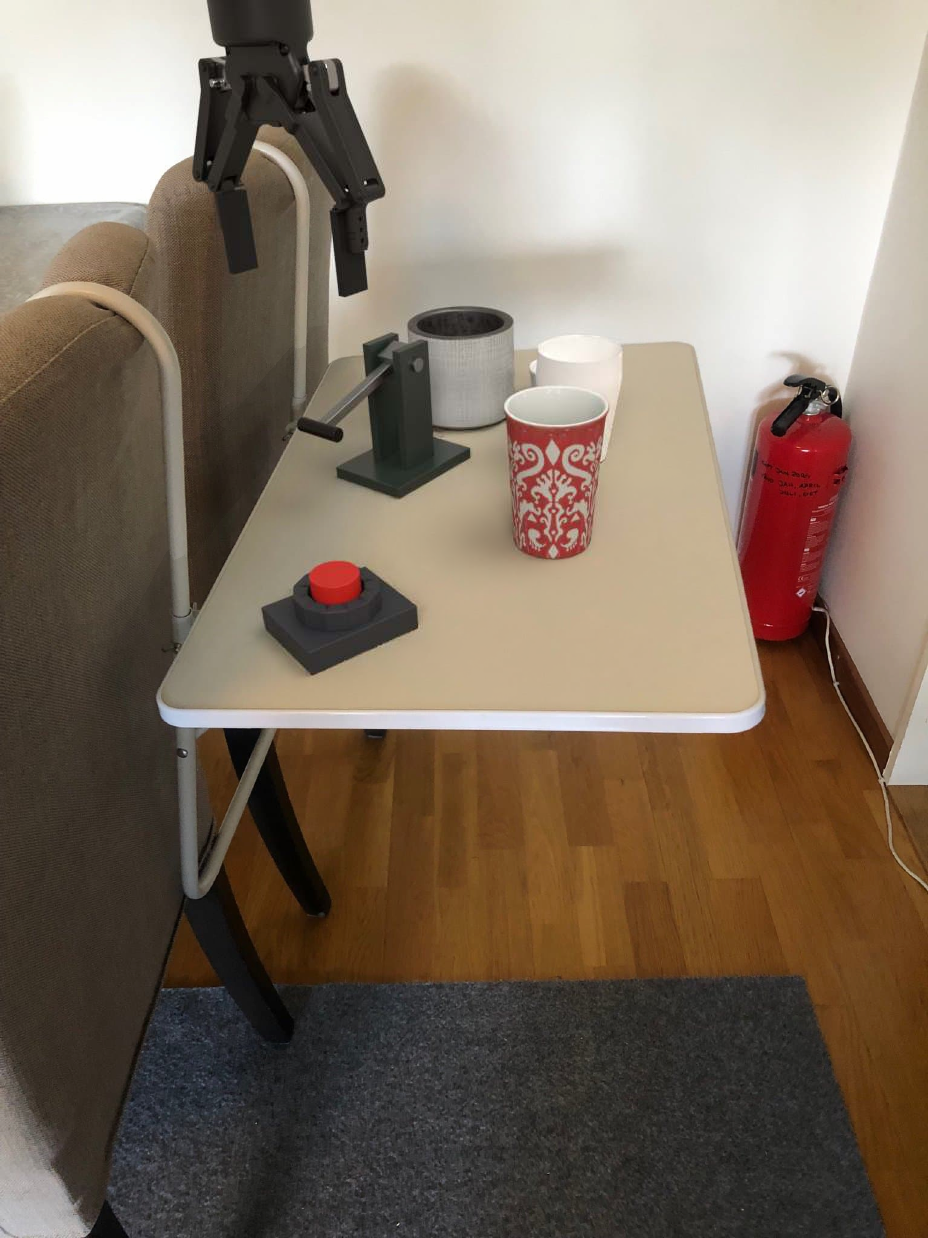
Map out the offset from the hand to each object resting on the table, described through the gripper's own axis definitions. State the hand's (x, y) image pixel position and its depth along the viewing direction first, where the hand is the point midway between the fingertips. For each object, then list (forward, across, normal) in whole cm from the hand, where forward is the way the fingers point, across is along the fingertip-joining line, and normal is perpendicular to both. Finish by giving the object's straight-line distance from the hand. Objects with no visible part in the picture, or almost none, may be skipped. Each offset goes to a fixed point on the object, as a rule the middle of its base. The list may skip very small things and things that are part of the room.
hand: (296, 281), depth 79 cm
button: (+19, -15, +13) cm, 28 cm away
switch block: (+23, -15, +13) cm, 30 cm away
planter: (+23, +5, -28) cm, 37 cm away
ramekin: (+23, -3, -38) cm, 45 cm away
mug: (+23, -20, -10) cm, 32 cm away
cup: (+23, -13, -26) cm, 37 cm away
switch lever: (+14, +1, -8) cm, 16 cm away
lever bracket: (+23, +1, -13) cm, 26 cm away
